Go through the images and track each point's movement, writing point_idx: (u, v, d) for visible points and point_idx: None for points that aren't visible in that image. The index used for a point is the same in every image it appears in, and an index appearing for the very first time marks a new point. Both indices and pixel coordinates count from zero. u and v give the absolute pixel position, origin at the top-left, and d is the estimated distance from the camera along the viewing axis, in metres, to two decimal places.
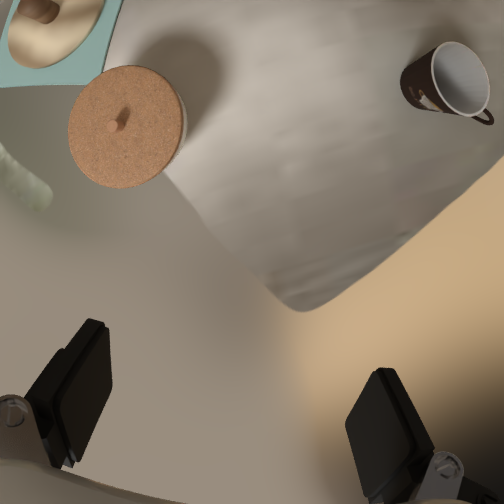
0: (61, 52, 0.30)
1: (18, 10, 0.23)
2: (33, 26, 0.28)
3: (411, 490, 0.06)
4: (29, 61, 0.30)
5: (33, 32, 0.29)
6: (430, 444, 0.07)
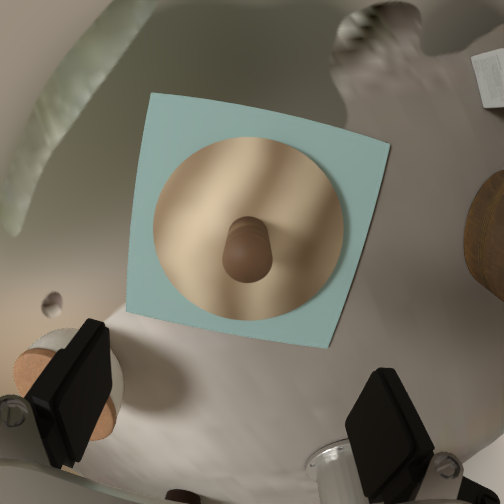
0: (168, 268, 0.29)
1: (236, 241, 0.22)
2: (233, 202, 0.27)
3: (411, 490, 0.06)
4: (166, 205, 0.27)
5: (220, 205, 0.27)
6: (430, 444, 0.07)
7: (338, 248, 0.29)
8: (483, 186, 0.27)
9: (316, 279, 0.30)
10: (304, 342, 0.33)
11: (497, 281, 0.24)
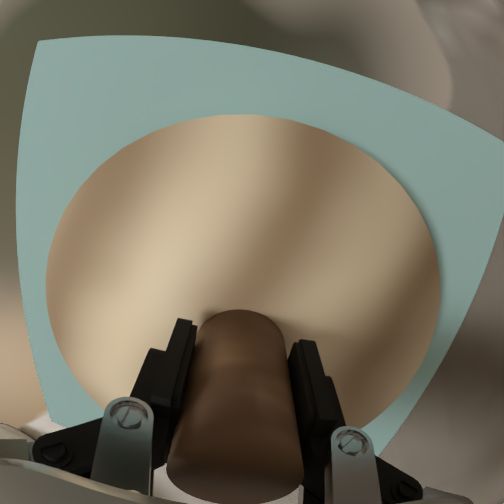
0: (92, 389, 0.13)
1: (200, 451, 0.06)
2: (203, 280, 0.11)
3: (314, 463, 0.07)
4: (63, 280, 0.11)
5: (173, 285, 0.11)
6: (333, 415, 0.07)
7: (420, 356, 0.13)
8: None
9: (371, 407, 0.14)
10: None
11: None
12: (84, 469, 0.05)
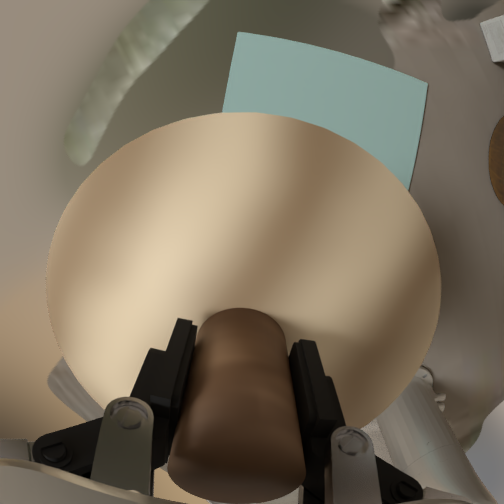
0: (93, 387, 0.13)
1: (201, 450, 0.06)
2: (204, 278, 0.11)
3: (314, 463, 0.07)
4: (63, 278, 0.11)
5: (174, 283, 0.11)
6: (333, 415, 0.07)
7: (421, 355, 0.13)
8: (499, 122, 0.30)
9: (372, 406, 0.14)
10: None
11: None
12: (84, 469, 0.05)
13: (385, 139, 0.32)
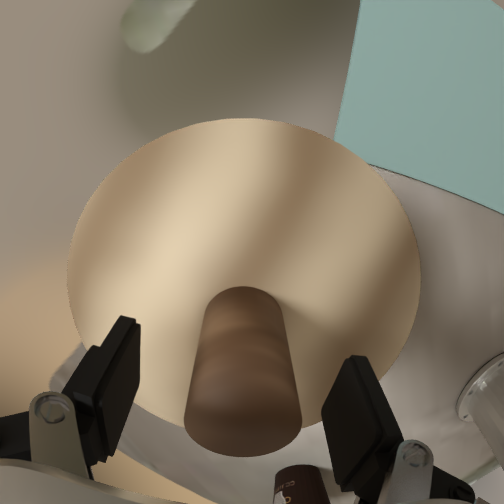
0: None
1: (214, 396, 0.08)
2: (211, 260, 0.13)
3: (379, 477, 0.07)
4: (84, 263, 0.13)
5: (185, 265, 0.13)
6: (398, 431, 0.07)
7: (405, 332, 0.15)
8: None
9: None
10: (503, 210, 0.24)
11: None
12: (12, 450, 0.05)
13: None
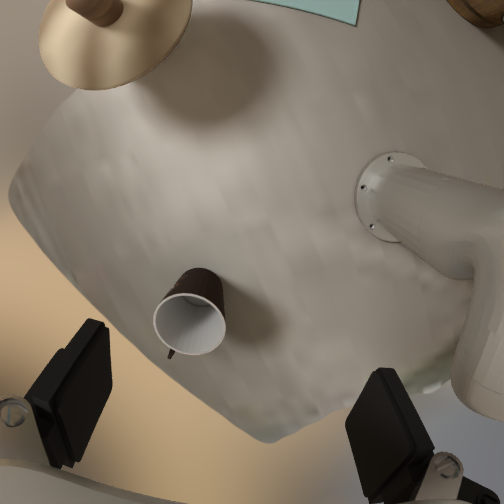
0: (46, 55, 0.23)
1: None
2: None
3: (411, 490, 0.06)
4: (51, 9, 0.21)
5: None
6: (430, 444, 0.07)
7: (187, 7, 0.23)
8: None
9: (167, 35, 0.24)
10: (335, 16, 0.33)
11: None
12: None
13: None
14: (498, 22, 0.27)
